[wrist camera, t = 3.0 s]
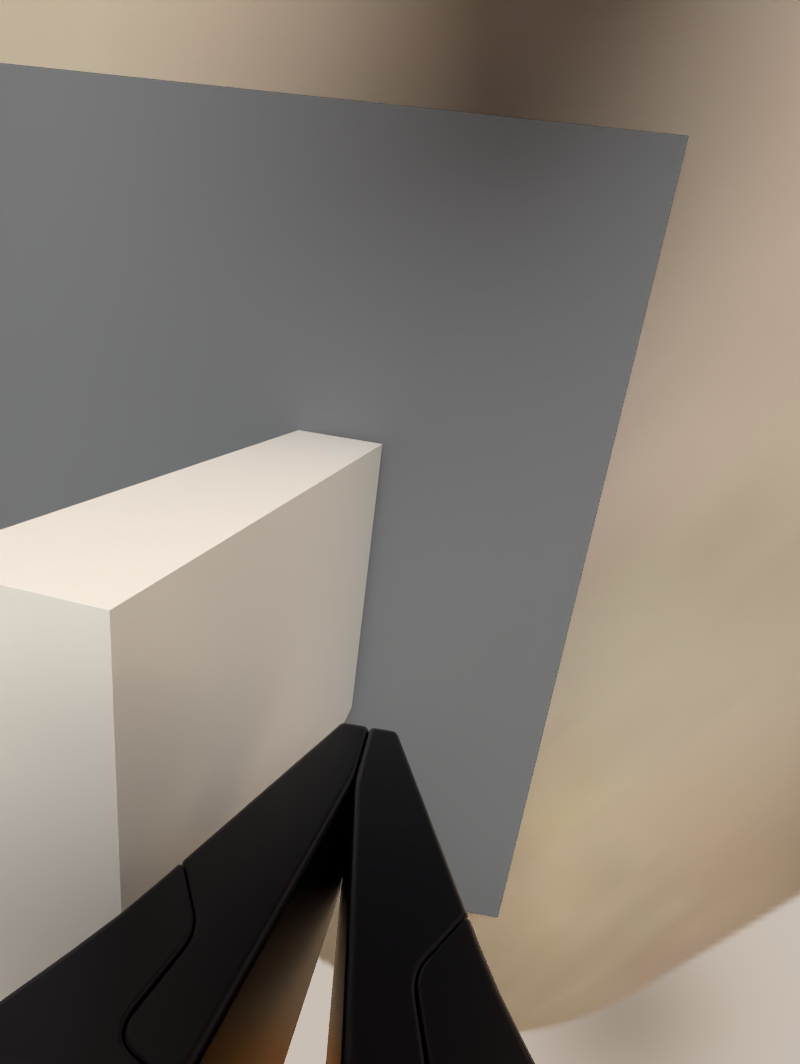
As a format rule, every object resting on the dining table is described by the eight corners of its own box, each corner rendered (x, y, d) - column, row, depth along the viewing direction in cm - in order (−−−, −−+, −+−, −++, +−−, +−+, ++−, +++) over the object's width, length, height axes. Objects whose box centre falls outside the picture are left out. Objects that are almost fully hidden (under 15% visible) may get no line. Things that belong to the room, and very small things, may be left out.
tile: (382, 444, 13) (109, 610, 5) (351, 707, 15) (130, 1138, 7) (288, 428, 13) (-121, 556, 5) (272, 687, 16) (-31, 1075, 7)
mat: (668, 155, 12) (688, 136, 11) (495, 882, 18) (497, 917, 17) (-222, 59, 13) (-286, 32, 12) (-94, 768, 20) (-128, 793, 19)
